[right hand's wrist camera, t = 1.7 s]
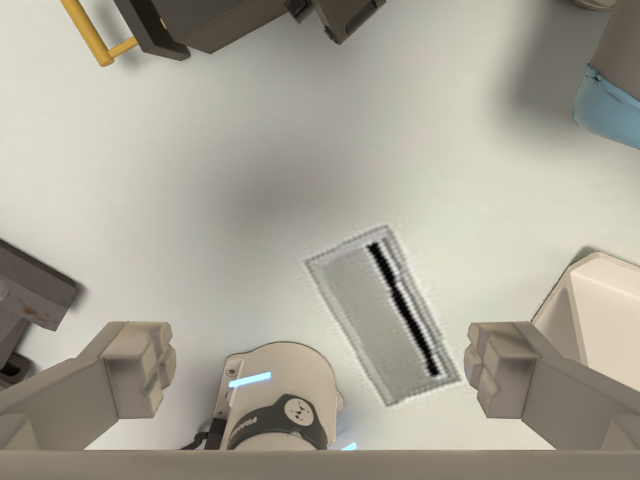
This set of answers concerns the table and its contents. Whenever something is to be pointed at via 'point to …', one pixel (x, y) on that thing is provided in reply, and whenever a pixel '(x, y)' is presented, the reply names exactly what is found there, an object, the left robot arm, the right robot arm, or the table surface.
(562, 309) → the tablet stand
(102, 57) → the drawer
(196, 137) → the table surface
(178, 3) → the cabinet
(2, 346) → the toy
